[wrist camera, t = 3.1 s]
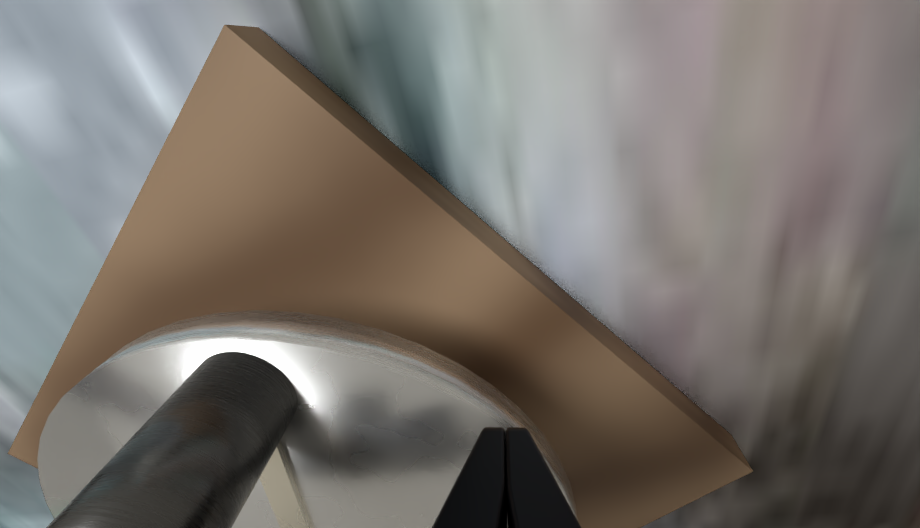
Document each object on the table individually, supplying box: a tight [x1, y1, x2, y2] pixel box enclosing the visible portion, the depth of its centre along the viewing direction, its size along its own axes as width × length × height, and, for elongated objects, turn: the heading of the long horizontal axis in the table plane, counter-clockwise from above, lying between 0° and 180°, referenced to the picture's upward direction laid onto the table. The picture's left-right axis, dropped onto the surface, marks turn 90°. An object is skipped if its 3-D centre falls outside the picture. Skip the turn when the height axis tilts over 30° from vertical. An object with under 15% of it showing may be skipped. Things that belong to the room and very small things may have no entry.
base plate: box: [8, 25, 753, 528], centre depth 16 cm, size 20×20×2 cm
